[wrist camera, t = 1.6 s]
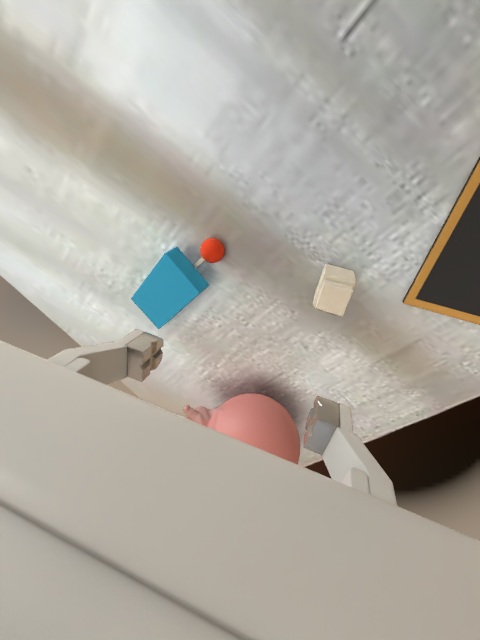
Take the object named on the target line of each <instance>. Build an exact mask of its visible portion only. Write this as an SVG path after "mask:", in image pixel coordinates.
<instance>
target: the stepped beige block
mask: <svg viewBox="0 0 480 640" xmlns="http://www.w3.org/2000/svg"><path fill="white" fill-rule="evenodd" d="M355 285H356V279H355V274H354V271H352V270H348V269H344V268H340V267H337V266H333V265H329V264H325V266H324V269H323V271H322V274H321V277H320V280H319V283H318V286H317V288H316V291H315V296H314V301H313V306H315V307H316V309H318V310H321V311H325V312H328V313H331V314H335V315H339V316H343V314H344V312H345V309H346V307H347V305H348V302H349V300H350V298H351V295H352V293H353V290H354V287H355Z"/></svg>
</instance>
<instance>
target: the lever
mask: <svg viewBox="0 0 480 640" xmlns="http://www.w3.org/2000/svg"><path fill="white" fill-rule="evenodd" d="M200 252H201V256H202V257H201V258H200V259H199V260H198V261H197V262H196V263H195V264H194V265H192V264H191V263H190V261H189V260H188V259H187V258H186V257H185V255H184V254H183V253H182V252H181V251H180V250H179V248H178V247H175V248H174V249H172V250H170V251H168V252H166V253H165V254H164V255H163V257H162V258H161V259H160V261H159V262H158V263H157V265H156V266H155V267H154V269H153V270H152V271H151V273H150V274H149V275H148V277H147V278H146V279H145V281H144V282H143V283H142V285H141V286H140V288H139V289H138V290H137V292H136V293H135V294H134V296H133V297H132V298H131V299H132V300H133V301H134V303H135V304H136V305H137V306H138V307H139V308H140V309H141V310H142V311H143V313H144V314H145V315H146V316H147V317H148V318H149V319H150V320H151V321H152V322H153V324H154V325H155V326H156V327H157V328H158V329H160V328H161V327H162V326H163V325H165V324H166V323H167V322H168V321H169V320H170V319H172V318H173V317H174V316H175V315H176V314H177V313H178V312H180V311H181V310H182V309H183V308H184V307H185V306H186V305H187V304H189V303H190V302H191V301H192V300H193V299H194V298H195V297H196V296H198V295H199V294H200V293H201V292H202V291H203V290H204V289H206V288H207V287H208V286H209V284H208V283H207V282H206V280H205V279H204V278H203V277H202V276H201V274H200V273H199V272H198V271H197V270H196V268H198V267H199V266H200V265H201V264H202V263H203V262H204V261H205V260H206V261H207V262H210V263H215V262H218V261H220V260H221V259H222V257H223V255H224V246H223V244H222V243H221V242H220V241H219V240H217V239H214V238H210V239H207V240H205V241H204V242H203V244H202V245H201V248H200Z"/></svg>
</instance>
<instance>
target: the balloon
mask: <svg viewBox="0 0 480 640" xmlns="http://www.w3.org/2000/svg"><path fill="white" fill-rule="evenodd" d="M183 411H184V413H185V414H186V415H187V419H189V420H192V421H194V422H196V423H199V424H201V425H204V426H206V427H209V428H211V429H213V430H216V431H218V432H221V433H223V434H225V435H228V436H230V437H232V438H235V439H237V440H240V441H242V442H244V443H247V444H249V445H252V446H254V447H256V448H259V449H261V450H264V451H266V452H268V453H271V454H273V455H275V456H278V457H280V458H283V459H285V460H287V461H290V462H292V463H295V464H298V461H299V456H300V439H299V434H298V430H297V427H296V425H295V422H294V420H293V419H292V417H291V415H290V414H289V413H288V411H287V410H286V409H285V408H284V407H283V406H282V405H281V404H280V403H278V402H277V401H275V400H274V399H272V398H270V397H267V396H265V395H261V394H254V393H248V394H241V395H238V396H235V397H233V398H231V399H229V400H227V401H226V402H224V403H223V404H222V405H221V406H220V407H216V408H212V409H210V410H209V409H207V408H205V407H198V408H197V409H196V410H195V409H193V408H191V407H190V406H189V405H186V406H184V408H183Z"/></svg>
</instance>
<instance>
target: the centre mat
mask: <svg viewBox="0 0 480 640" xmlns="http://www.w3.org/2000/svg"><path fill="white" fill-rule="evenodd" d="M403 303H404V304H408V305H412V306H415V307H419V308H422V309H426V310H430V311H433V312H437V313H440V314H444V315H447V316H451V317H454V318H458V319H462V320H465V321H469V322H472V323H476V324H479V325H480V158H479V160H478V161H477V163H476V165H475V167H474V169H473V171H472V173H471V174H470V176H469V178H468V180H467V182H466V184H465V186H464V188H463V189H462V191H461V193H460V195H459V197H458V199H457V201H456V203H455V204H454V206H453V208H452V210H451V212H450V214H449V216H448V218H447V219H446V221H445V223H444V225H443V227H442V229H441V231H440V232H439V234H438V236H437V238H436V240H435V242H434V244H433V246H432V247H431V249H430V251H429V253H428V255H427V257H426V259H425V261H424V262H423V264H422V266H421V268H420V270H419V272H418V274H417V276H416V277H415V279H414V281H413V283H412V285H411V287H410V289H409V290H408V292H407V294H406V296H405V298H404V300H403Z"/></svg>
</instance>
